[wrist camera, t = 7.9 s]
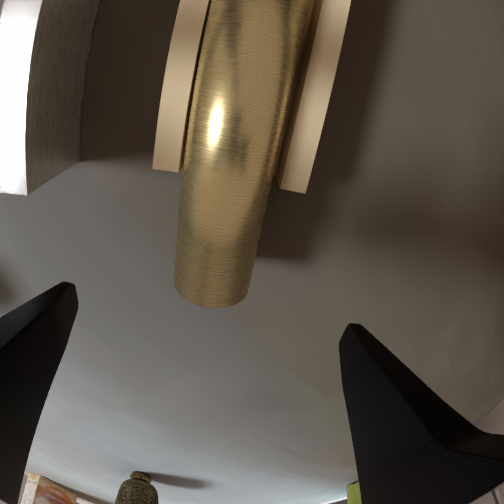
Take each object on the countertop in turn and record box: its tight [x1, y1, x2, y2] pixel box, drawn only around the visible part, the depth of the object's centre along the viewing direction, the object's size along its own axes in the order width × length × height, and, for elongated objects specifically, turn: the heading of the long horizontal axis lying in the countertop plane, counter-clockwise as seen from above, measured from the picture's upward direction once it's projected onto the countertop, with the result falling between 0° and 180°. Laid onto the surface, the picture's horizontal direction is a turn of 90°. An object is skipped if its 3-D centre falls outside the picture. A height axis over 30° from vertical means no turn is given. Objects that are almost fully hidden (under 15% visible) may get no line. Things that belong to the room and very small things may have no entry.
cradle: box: [0, 0, 100, 195], centre depth 10 cm, size 10×8×6 cm
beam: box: [152, 0, 351, 194], centre depth 12 cm, size 14×7×3 cm, turn 169°
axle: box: [174, 0, 310, 308], centre depth 13 cm, size 16×4×4 cm, turn 170°
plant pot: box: [347, 481, 362, 504], centre depth 43 cm, size 9×9×9 cm
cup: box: [115, 472, 158, 504], centre depth 37 cm, size 8×7×8 cm
